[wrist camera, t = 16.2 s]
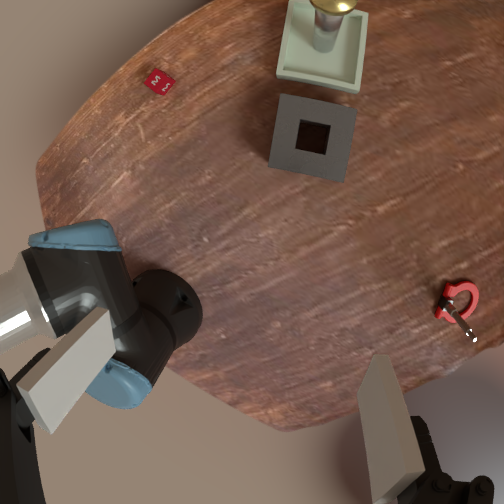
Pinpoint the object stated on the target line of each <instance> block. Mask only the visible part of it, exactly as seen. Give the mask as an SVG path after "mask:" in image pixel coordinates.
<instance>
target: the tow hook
mask: <svg viewBox="0 0 504 504" xmlns="http://www.w3.org/2000/svg"><path fill="white" fill-rule="evenodd" d="M462 290H469V291H470V292H471V301H470V304H469V306H468V307H467V308H466V310H464V311H463V312H462V313H460V314H459V313H458V311H457V310H456V308H455V307H454V306H453V305H452V304H453V300H452V299H451V298H450V297H454V296H455V295H456V294H457V293H458V292H460V291H462ZM449 296H450V297H449ZM478 298H479V292H478V289H477V287H476V286H475V284H473V283H472V282H470V281H462V282H459V283H457V284H456V285H452V284H451V283H446V286H445V289H444V292H443V294H442V296H441V299H440V301H439V304H438V308H437V310H436V313H435V317H436V318H438V319H440V318H441V317H444V318H445V319H446V320H447V321H448V322H451V323H458V324H459V326H460V327H461V328H462V330H463V331H464V332H465V334H466V335H469V337H470V338H471V339H472V341H473V342H475V341H476V340H477V338H476V336H475V335H474V334H473V333H472V329H471V328H470V327H469V325H468V324H467V323H466V322H465V320H464V319H466V318H467V317H468V316H469V315H470V314H471V313H472V312H473V311H474V309H475V307H476V305H477V302H478Z"/></svg>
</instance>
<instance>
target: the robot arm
mask: <svg viewBox="0 0 504 504" xmlns="http://www.w3.org/2000/svg"><path fill="white" fill-rule="evenodd" d="M28 244H29V246H31V247H30V248H28V249H26V250H24V251H22V252H19V253H18V256H17V258H16V261H15V264H14V266H13V268H12V269H11V270H10V271H8V272H6V273H4V274H2V275H0V355H1V354H3V353H5V352H6V351H8V350H10V349H12V348H14V347H16V346H17V345H19V344H21V343H23V342H25V341H27V340H28V339H30V338H32V337H34V336H36V335H38V334H43V335H45V336H48V337H50V338H53V339H56V338H58V337H60V336H62V335H64V334H66V336H64V337H63V338H62V339H61V341H59V342H58V343H57V344H56V345H55V346H54V347H53V348H52V349H50V348H46V349H44V350H42V351H40V352H38V353H37V354H36V355H35V356H34V357H33V358H32V360H30V361H29V362H28V363H27V365H25V366H24V367H23V368H22V369H21V370H20V371H19V372H18V373H17V374H16V375H15V376H14V377H13V378H12V379H11V380H10V381H8V379H7V378H6V375H5V373H4V371H3V370H2V369H1V368H0V504H46V502H45V498H44V493H43V489H42V484H41V478H40V473H39V467H38V461H37V454H36V446H35V437H34V428H33V424H32V422H33V421H34V420H36V422H37V424H38V425H39V427H40V428H42V429H43V430H45V431H47V432H48V433H50V434H53V432H54V431H55V430H56V428H57V427H58V426H59V424H60V423H61V422H62V420H63V419H64V417H65V416H66V415H67V413H68V412H69V411H70V410H71V408H72V407H73V406H74V404H75V403H76V402H77V400H78V399H79V398H80V396H81V395H82V394H83V392H84V391H85V392H86V393H88V394H89V395H90V396H92V397H93V398H95V399H97V400H98V401H100V402H102V403H104V404H106V405H108V406H111V407H114V408H120V409H132V408H135V407H137V406H138V405H140V404H141V403H142V401H143V399H144V398H145V397H146V395H147V394H149V393H150V392H151V390H152V388H153V386H154V384H155V383H156V381H157V379H158V377H159V375H160V374H161V372H162V370H163V369H164V367H165V365H166V363H167V362H168V360H169V358H170V356H171V355H172V353H173V351H174V350H176V349H177V348H179V347H181V346H182V345H183V344H185V343H187V342H189V341H190V340H191V339H192V338H193V337H194V336H195V334H196V333H197V331H198V329H199V327H200V325H201V322H202V316H203V313H202V306H201V303H200V300H199V298H198V296H197V294H196V293H195V291H194V290H193V289H192V287H191V286H190V285H189V284H188V283H187V282H186V281H184V280H183V279H182V278H180V277H179V276H177V275H175V274H173V273H171V272H168V271H164V270H149V271H145V272H143V273H141V274H140V275H139V276H137V277H136V278H135V279H134V280H133V281H132V282H131V280H130V277H129V274H128V271H127V268H126V265H125V262H124V259H123V256H122V252H121V251H122V248H121V247H120V246H119V244H118V241H117V239H116V236H115V233H114V230H113V228H112V226H111V224H110V223H109V222H108V221H106V220H104V219H94V220H90V221H85V222H80V223H76V224H72V225H67V226H63V227H59V228H55V229H51V230H47V231H43V232H39V233H36V234H32V235H30V236H29V242H28ZM357 399H358V404H359V410H360V415H361V421H362V427H363V433H364V440H365V446H366V453H367V460H368V468H369V475H370V484H371V493H372V502H373V504H383V503H390V502H391V501H393V500H394V499H395V498H396V497H397V500H398V504H493V497H494V484H493V482H492V480H491V479H490V478H489V477H487V476H478V477H476V478H474V479H473V480H472V481H471V482H461V481H454V480H452V478H451V476H449V475H448V474H447V473H444V472H442V470H441V468H440V464H439V461H438V458H437V455H436V452H435V448H434V445H433V443H432V439H431V436H430V435H429V434H430V433H429V430H428V427H427V424H426V423H425V422H424V420H423V419H422V418H421V417H420V416H409V413H408V410H407V407H406V403H405V401H404V397H403V395H402V392H401V389H400V386H399V383H398V380H397V377H396V375H395V372H394V369H393V366H392V364H391V361H390V358H389V356H388V355H380V354H374V355H373V358H372V360H371V363H370V365H369V367H368V370H367V372H366V374H365V377H364V379H363V381H362V383H361V386H360V388H359V390H358V392H357Z"/></svg>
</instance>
